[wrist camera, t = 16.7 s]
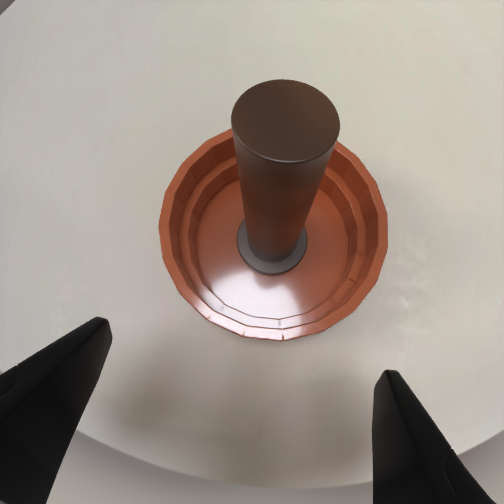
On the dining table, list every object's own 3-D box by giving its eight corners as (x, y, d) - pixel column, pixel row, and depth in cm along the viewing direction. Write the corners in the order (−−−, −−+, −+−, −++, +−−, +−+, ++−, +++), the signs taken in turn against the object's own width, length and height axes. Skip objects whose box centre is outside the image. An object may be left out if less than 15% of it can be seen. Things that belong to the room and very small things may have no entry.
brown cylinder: (274, 290, 20) (298, 224, 8) (223, 244, 21) (172, 124, 8) (319, 239, 21) (391, 119, 8) (268, 196, 22) (276, 46, 9)
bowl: (279, 375, 19) (285, 390, 15) (146, 250, 22) (116, 228, 17) (393, 237, 21) (425, 213, 16) (264, 133, 24) (265, 90, 19)
